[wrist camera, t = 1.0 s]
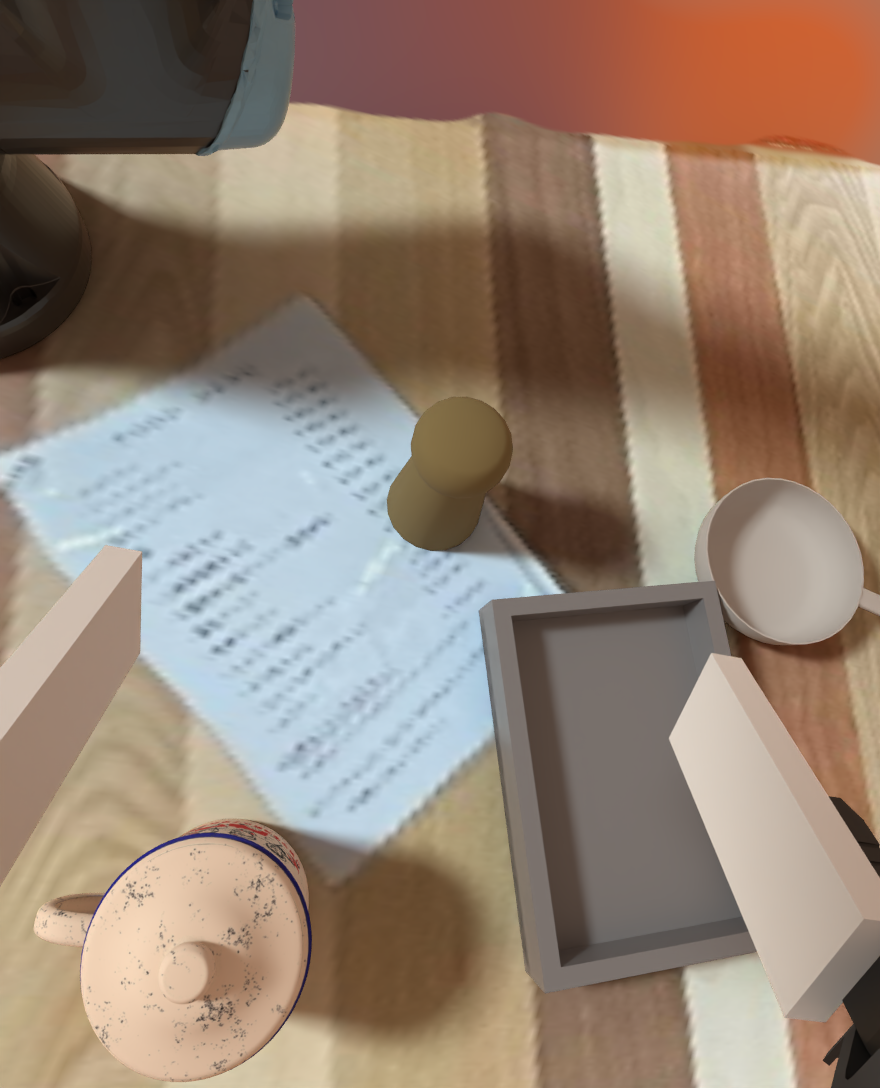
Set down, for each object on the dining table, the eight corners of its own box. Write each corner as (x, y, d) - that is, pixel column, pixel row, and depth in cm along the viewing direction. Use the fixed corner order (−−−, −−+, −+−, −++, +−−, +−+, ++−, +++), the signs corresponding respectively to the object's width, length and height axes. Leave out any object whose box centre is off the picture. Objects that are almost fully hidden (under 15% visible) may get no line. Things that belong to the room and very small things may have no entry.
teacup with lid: (326, 823, 39) (329, 856, 28) (297, 1010, 36) (286, 1131, 25) (101, 797, 37) (8, 822, 26) (53, 990, 35) (-73, 1109, 24)
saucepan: (705, 470, 49) (736, 448, 45) (933, 580, 49) (981, 568, 46) (658, 608, 45) (687, 597, 42) (902, 725, 46) (953, 723, 42)
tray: (478, 610, 43) (491, 599, 40) (686, 592, 46) (714, 580, 42) (525, 971, 38) (544, 993, 35) (755, 927, 41) (793, 944, 38)
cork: (368, 487, 44) (383, 409, 34) (448, 445, 46) (485, 358, 35) (419, 568, 43) (450, 513, 33) (498, 522, 45) (551, 456, 35)
